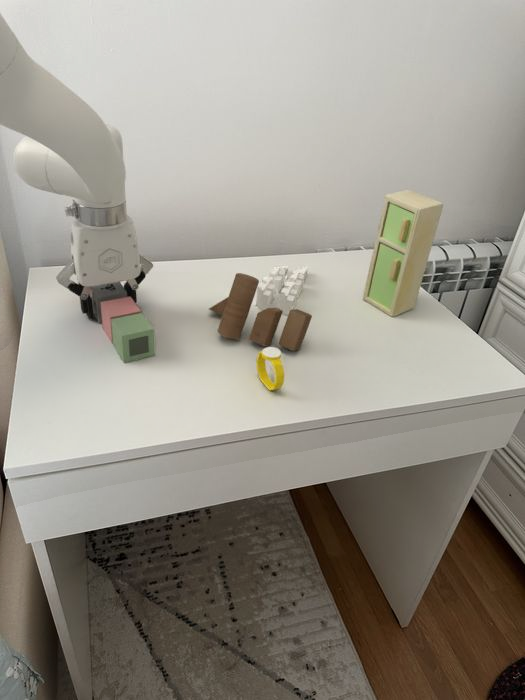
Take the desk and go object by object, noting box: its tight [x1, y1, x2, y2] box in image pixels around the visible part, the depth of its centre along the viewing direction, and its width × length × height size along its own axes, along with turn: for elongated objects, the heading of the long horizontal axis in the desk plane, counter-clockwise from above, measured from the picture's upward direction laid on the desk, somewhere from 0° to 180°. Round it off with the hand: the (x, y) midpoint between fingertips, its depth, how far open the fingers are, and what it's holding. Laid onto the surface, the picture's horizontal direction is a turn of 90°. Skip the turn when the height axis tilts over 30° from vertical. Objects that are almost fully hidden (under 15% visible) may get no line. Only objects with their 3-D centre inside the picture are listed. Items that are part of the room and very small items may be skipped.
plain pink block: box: [100, 297, 142, 345], centre depth 86 cm, size 5×5×5 cm
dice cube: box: [90, 282, 127, 324], centre depth 91 cm, size 5×5×5 cm
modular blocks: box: [255, 265, 309, 316], centre depth 104 cm, size 20×7×4 cm, turn 165°
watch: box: [256, 346, 285, 392], centre depth 78 cm, size 6×3×6 cm, turn 28°
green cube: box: [111, 312, 156, 364], centre depth 83 cm, size 5×5×5 cm
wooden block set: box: [208, 272, 313, 352], centre depth 88 cm, size 18×9×10 cm, turn 59°
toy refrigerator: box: [362, 189, 444, 317], centre depth 97 cm, size 8×7×21 cm
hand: (109, 310), depth 92 cm, fingers open, 6 cm apart
